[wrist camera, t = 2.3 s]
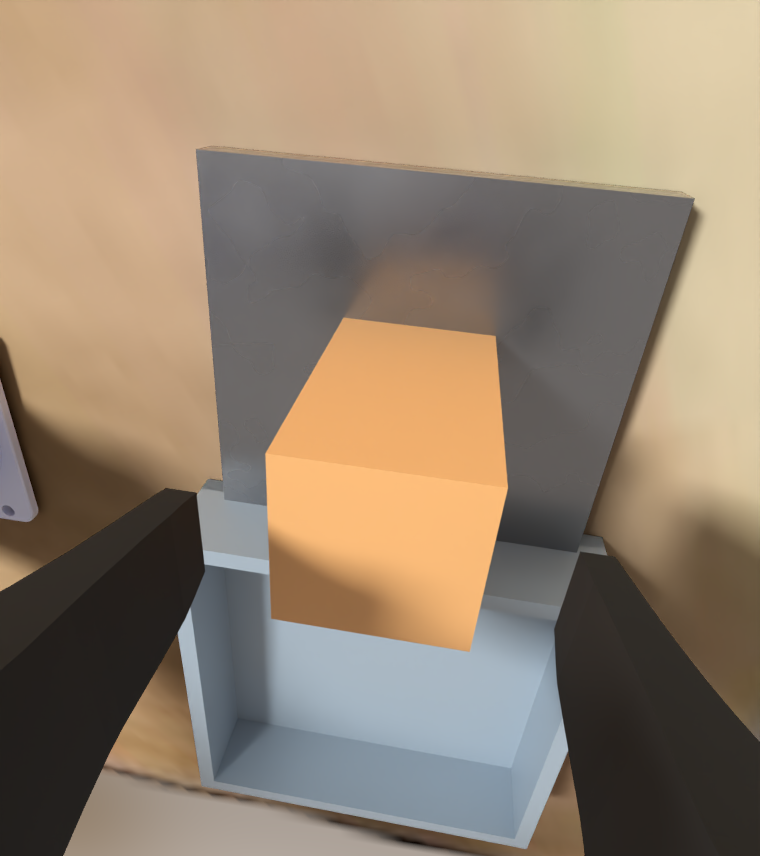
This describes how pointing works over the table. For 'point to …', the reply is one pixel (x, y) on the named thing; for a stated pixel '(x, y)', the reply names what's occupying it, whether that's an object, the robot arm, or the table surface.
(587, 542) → the slate bin
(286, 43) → the table surface
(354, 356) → the orange rectangular block
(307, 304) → the stud plate
